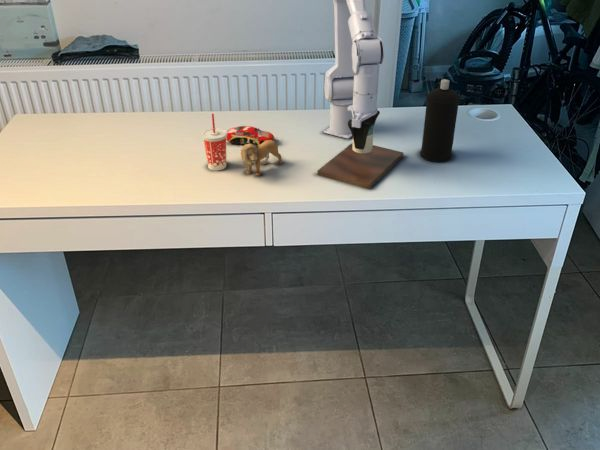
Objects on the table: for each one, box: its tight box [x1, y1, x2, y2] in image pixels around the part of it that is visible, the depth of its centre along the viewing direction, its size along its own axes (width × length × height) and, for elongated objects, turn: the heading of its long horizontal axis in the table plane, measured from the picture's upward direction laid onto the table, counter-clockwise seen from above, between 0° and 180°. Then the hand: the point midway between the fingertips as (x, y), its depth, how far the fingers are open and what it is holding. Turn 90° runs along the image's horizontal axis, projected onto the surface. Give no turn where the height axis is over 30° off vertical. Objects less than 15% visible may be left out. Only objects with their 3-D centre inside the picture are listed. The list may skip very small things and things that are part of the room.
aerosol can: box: [419, 78, 461, 163], centre depth 154 cm, size 8×8×20 cm
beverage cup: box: [201, 113, 228, 171], centre depth 151 cm, size 6×6×14 cm
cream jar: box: [351, 123, 375, 153], centre depth 151 cm, size 5×5×6 cm
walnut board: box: [317, 143, 404, 190], centre depth 155 cm, size 20×14×1 cm
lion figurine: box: [240, 140, 282, 177], centre depth 151 cm, size 15×5×9 cm, turn 150°
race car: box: [226, 125, 276, 146], centre depth 166 cm, size 13×5×4 cm, turn 76°
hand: (362, 143), depth 152 cm, fingers closed on cream jar, 5 cm apart
